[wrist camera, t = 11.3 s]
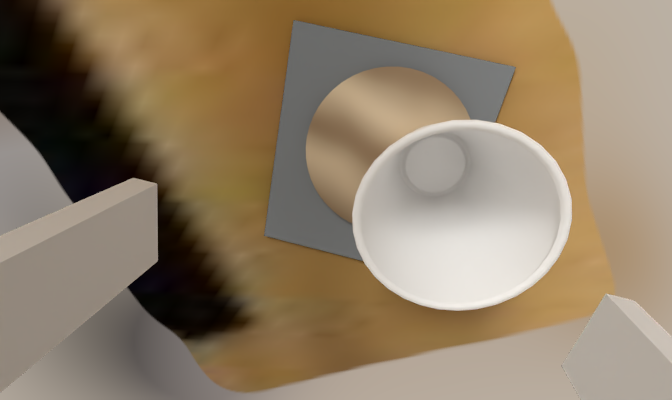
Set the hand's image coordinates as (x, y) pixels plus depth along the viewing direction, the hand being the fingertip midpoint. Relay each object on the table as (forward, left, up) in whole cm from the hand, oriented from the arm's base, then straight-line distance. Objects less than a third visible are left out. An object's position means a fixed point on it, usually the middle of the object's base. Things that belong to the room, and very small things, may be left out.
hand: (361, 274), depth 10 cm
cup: (0, +4, -18) cm, 18 cm away
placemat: (+2, 0, -19) cm, 19 cm away
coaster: (+1, +1, -18) cm, 18 cm away
